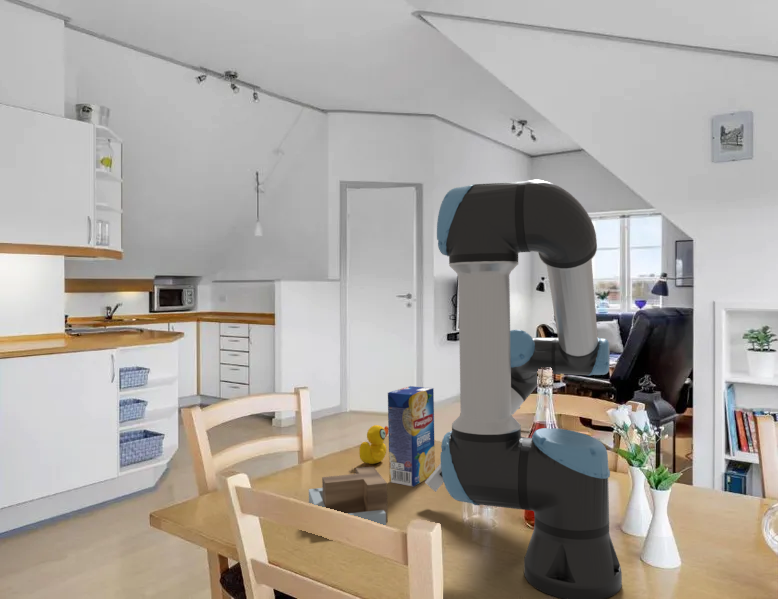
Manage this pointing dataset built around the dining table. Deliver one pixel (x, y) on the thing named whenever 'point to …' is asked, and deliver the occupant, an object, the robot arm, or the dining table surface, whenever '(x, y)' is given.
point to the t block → (356, 491)
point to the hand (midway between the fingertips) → (430, 487)
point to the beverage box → (411, 435)
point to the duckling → (374, 445)
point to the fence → (375, 516)
